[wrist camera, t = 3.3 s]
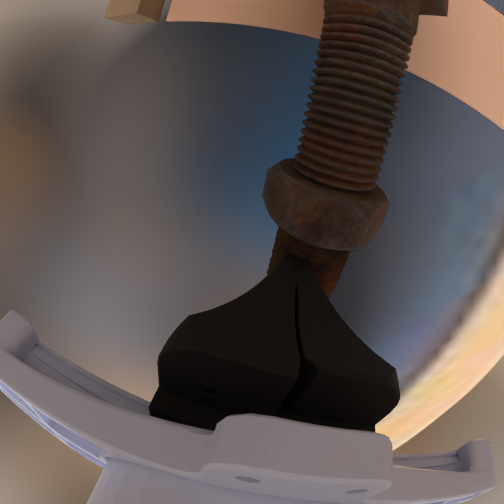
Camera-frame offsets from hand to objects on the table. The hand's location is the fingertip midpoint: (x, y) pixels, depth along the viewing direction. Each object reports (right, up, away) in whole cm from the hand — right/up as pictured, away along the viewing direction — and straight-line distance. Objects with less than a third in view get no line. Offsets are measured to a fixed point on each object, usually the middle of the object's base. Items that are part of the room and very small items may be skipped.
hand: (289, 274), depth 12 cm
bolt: (+2, +7, -1) cm, 7 cm away
